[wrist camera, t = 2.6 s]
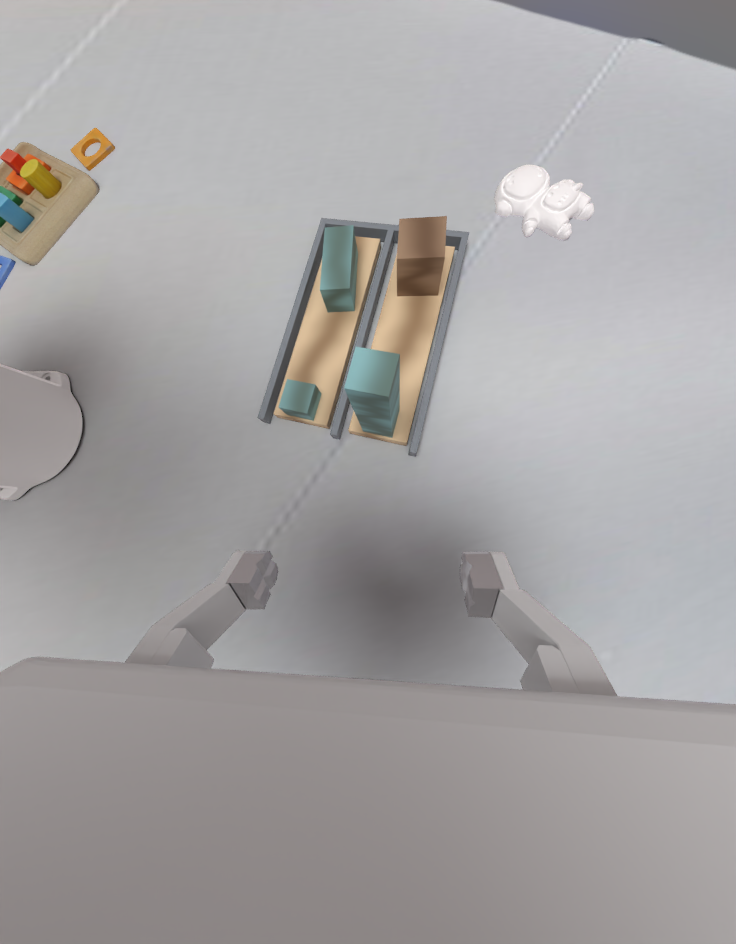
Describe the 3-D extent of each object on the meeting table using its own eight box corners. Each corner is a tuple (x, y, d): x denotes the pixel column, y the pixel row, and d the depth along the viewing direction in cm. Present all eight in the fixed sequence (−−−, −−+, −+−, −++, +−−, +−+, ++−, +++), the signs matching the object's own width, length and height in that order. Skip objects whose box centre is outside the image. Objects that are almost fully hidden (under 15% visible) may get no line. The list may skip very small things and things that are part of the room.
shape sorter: (70, 119, 48) (36, 78, 44) (137, 155, 45) (108, 115, 40) (-55, 260, 46) (-103, 233, 42) (6, 309, 43) (-40, 285, 38)
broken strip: (277, 417, 34) (258, 402, 29) (332, 242, 37) (322, 203, 32) (329, 428, 33) (318, 415, 28) (380, 247, 36) (378, 208, 31)
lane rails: (264, 422, 34) (257, 417, 32) (324, 230, 37) (321, 218, 36) (415, 456, 31) (416, 453, 30) (466, 245, 35) (469, 232, 33)
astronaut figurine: (546, 258, 33) (560, 233, 30) (479, 204, 36) (486, 176, 33) (599, 214, 34) (619, 185, 31) (529, 163, 36) (541, 132, 33)
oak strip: (350, 433, 32) (321, 386, 20) (400, 250, 36) (401, 116, 24) (406, 445, 31) (411, 404, 19) (453, 255, 35) (481, 119, 23)
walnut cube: (397, 296, 33) (396, 258, 28) (399, 261, 34) (399, 218, 29) (437, 295, 33) (444, 257, 28) (439, 259, 33) (446, 216, 28)
